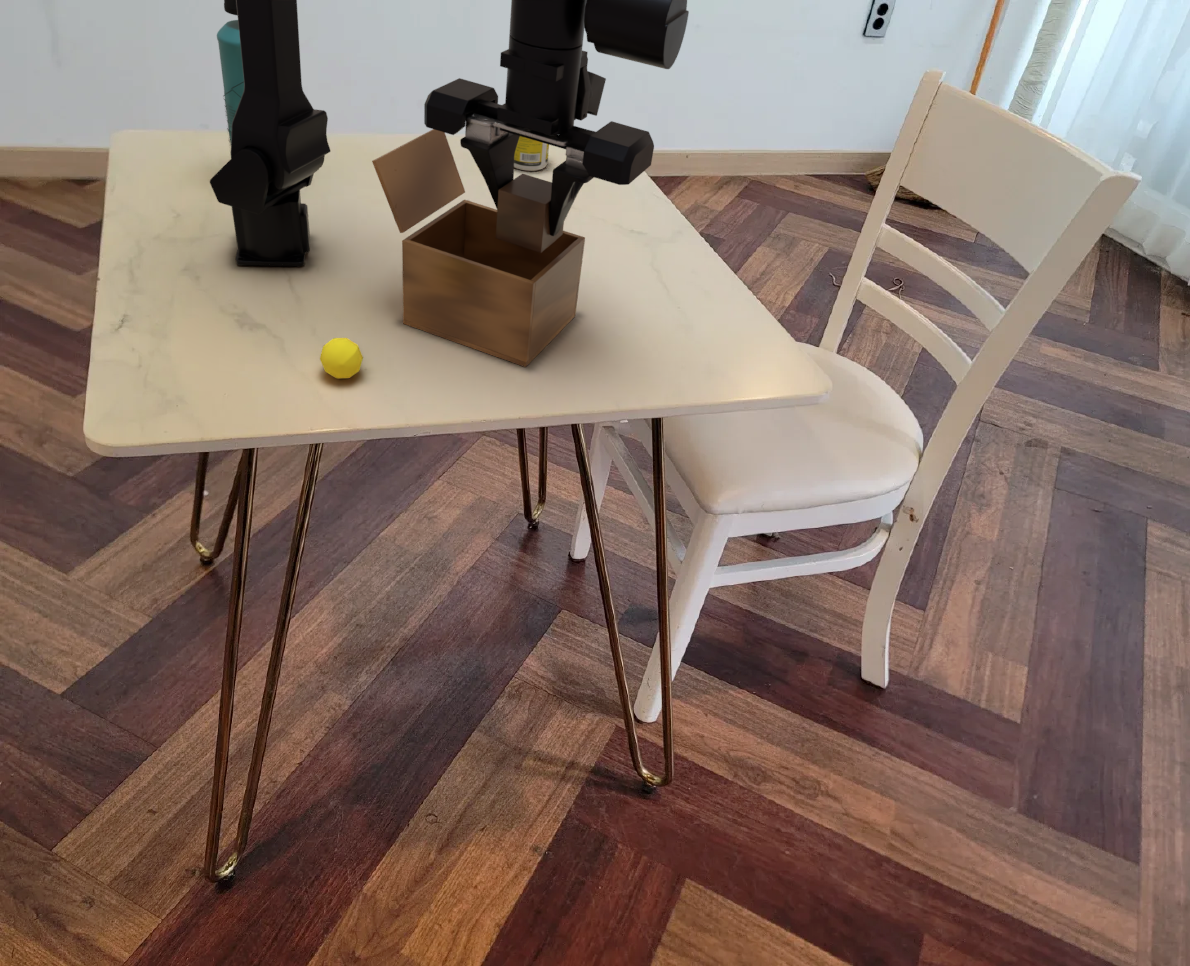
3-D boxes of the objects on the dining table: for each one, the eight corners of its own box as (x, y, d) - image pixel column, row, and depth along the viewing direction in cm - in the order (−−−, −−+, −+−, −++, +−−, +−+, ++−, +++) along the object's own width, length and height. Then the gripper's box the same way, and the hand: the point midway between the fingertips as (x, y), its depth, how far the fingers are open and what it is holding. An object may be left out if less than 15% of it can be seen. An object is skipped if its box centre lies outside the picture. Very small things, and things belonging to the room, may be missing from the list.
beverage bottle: (221, 177, 104) (193, -16, 91) (266, 162, 108) (245, -23, 95) (262, 195, 101) (239, 0, 89) (306, 179, 106) (290, -8, 93)
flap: (403, 232, 79) (399, 233, 79) (465, 192, 87) (462, 193, 87) (375, 160, 76) (371, 161, 76) (442, 125, 84) (438, 125, 84)
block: (495, 238, 80) (498, 189, 77) (518, 220, 83) (522, 173, 80) (540, 253, 79) (545, 204, 76) (562, 234, 82) (568, 187, 79)
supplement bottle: (524, 152, 121) (530, 75, 114) (555, 165, 119) (563, 88, 112) (497, 161, 117) (501, 83, 111) (528, 175, 115) (534, 96, 109)
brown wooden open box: (403, 323, 85) (401, 240, 80) (461, 277, 93) (464, 199, 88) (525, 367, 82) (533, 283, 77) (575, 316, 90) (585, 237, 85)
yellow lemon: (330, 390, 76) (313, 351, 74) (329, 368, 81) (314, 331, 79) (369, 376, 76) (353, 338, 74) (366, 356, 81) (351, 319, 80)
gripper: (691, 45, 74) (658, 224, 84) (490, -6, 78) (481, 170, 88) (642, 77, 65) (612, 271, 76) (420, 18, 70) (420, 209, 80)
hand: (530, 226), depth 80 cm, fingers closed on block, 4 cm apart
